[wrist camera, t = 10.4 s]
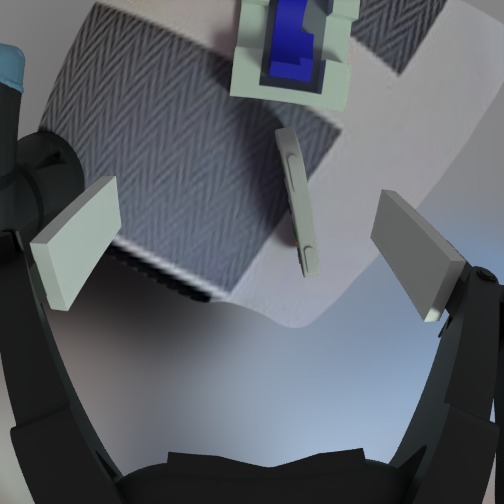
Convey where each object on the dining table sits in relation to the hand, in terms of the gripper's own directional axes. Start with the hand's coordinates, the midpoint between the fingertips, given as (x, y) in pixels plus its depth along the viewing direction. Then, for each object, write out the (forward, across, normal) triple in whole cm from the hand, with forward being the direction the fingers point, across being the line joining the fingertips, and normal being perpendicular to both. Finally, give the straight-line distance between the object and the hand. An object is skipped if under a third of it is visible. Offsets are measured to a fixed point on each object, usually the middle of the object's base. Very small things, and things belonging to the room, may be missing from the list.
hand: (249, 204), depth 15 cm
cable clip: (+25, +5, +12) cm, 28 cm away
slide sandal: (+26, +7, -9) cm, 28 cm away
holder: (+26, +5, +12) cm, 29 cm away
